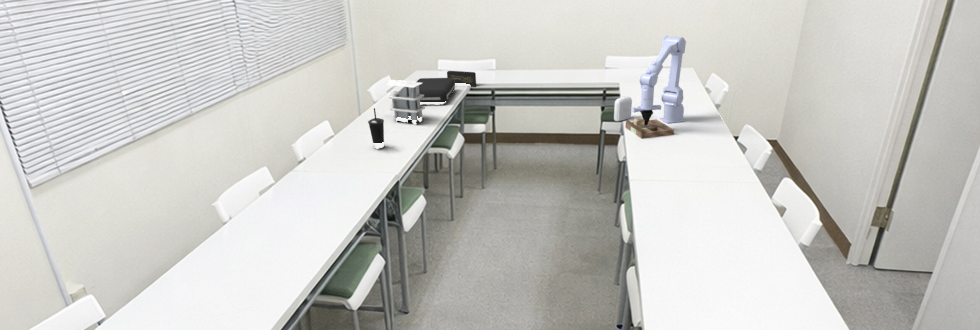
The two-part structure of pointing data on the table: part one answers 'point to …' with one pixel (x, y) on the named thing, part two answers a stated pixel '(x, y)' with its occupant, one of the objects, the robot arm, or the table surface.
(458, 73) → the nameplate
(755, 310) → the table surface
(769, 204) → the table surface
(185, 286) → the table surface
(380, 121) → the drinking cup
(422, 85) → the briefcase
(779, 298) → the table surface
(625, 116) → the photo printer
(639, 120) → the maple block
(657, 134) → the box
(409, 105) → the file organizer
